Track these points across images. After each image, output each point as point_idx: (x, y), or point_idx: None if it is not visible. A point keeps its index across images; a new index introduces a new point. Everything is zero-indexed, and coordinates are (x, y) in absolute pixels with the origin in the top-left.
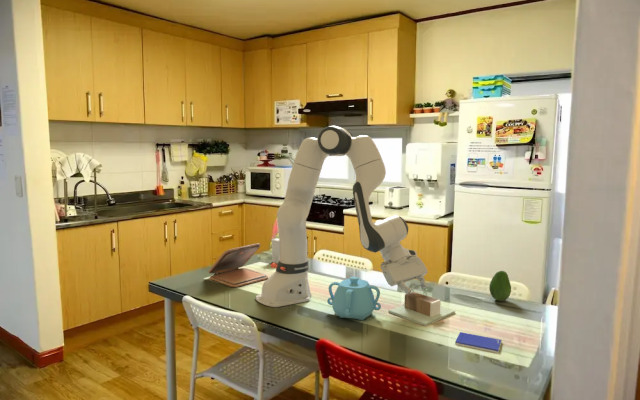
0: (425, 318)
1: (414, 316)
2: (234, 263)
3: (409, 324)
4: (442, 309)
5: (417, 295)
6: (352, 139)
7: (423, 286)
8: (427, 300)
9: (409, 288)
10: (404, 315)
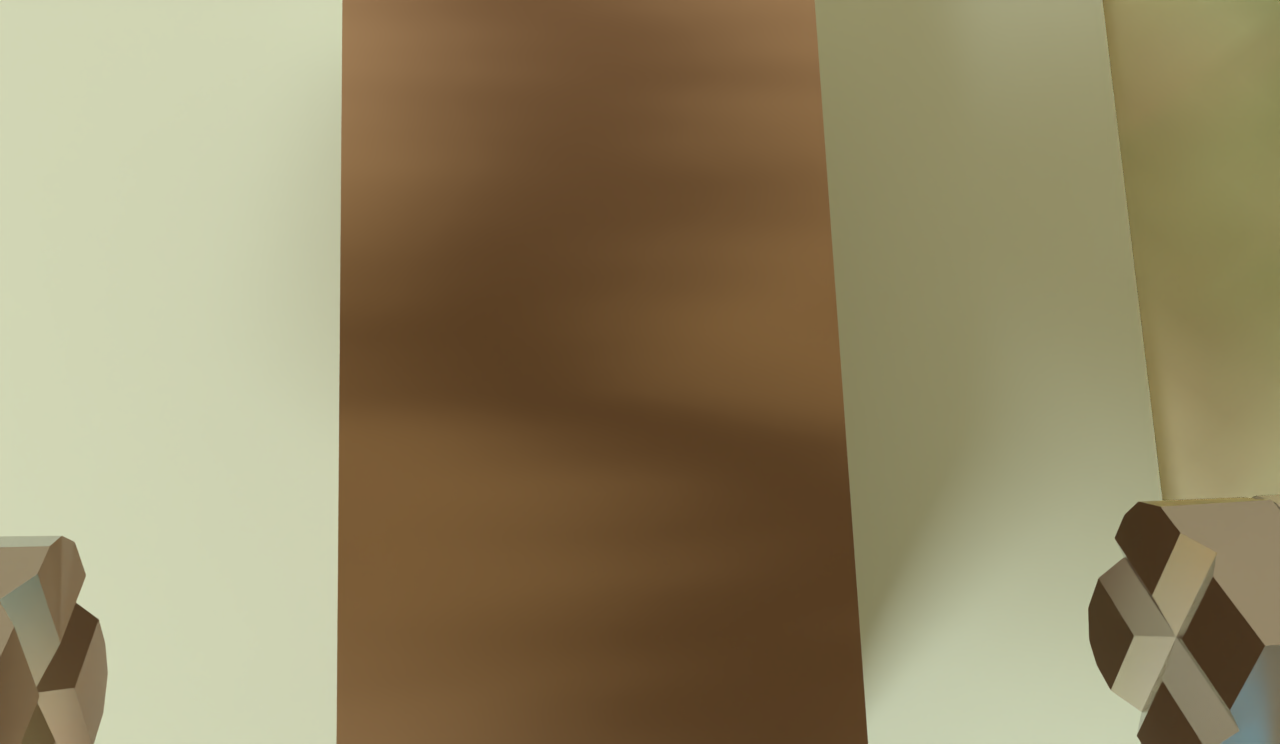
0: (888, 68)
1: (998, 287)
2: None
3: (1262, 186)
4: (85, 122)
5: (578, 572)
6: None
7: (65, 619)
8: (716, 40)
9: (1259, 581)
10: (1136, 471)
